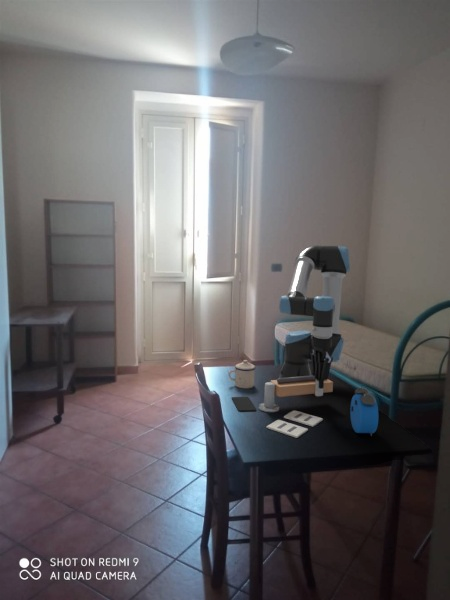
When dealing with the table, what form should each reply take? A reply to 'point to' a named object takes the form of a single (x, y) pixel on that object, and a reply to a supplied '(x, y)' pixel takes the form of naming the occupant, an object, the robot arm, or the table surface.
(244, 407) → the phone
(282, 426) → the plate
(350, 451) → the table surface
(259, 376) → the table surface
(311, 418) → the plate
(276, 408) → the base
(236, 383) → the teacup with lid
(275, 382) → the wooden beam with rod
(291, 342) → the robot arm
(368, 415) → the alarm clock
